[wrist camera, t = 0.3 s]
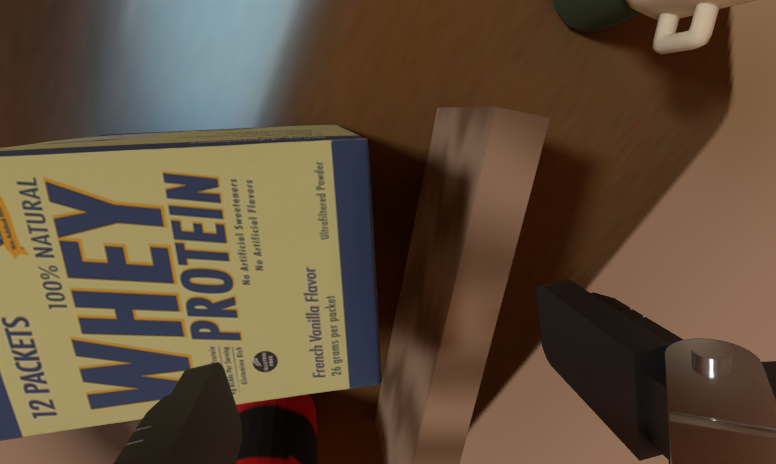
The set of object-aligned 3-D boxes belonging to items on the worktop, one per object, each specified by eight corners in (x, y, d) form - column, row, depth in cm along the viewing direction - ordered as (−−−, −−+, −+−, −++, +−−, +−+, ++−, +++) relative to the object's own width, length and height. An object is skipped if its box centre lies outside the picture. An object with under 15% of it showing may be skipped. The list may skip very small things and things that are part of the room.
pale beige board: (437, 107, 31) (496, 106, 21) (476, 115, 32) (550, 118, 22) (374, 421, 37) (397, 528, 28) (407, 422, 38) (442, 527, 28)
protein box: (350, 263, 33) (387, 387, 18) (128, 286, 30) (-38, 453, 16) (340, 120, 30) (374, 131, 15) (93, 133, 28) (-150, 161, 13)
